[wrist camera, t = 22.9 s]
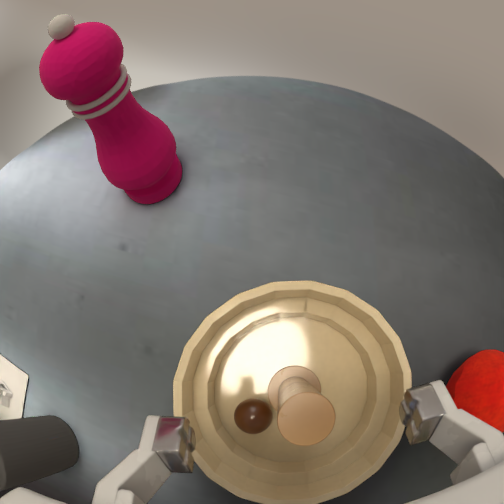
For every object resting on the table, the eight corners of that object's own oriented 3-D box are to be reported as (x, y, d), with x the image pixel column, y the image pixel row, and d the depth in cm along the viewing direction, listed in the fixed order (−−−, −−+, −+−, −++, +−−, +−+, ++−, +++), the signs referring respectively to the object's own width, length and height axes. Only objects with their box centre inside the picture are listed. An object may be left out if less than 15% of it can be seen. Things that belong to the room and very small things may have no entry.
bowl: (380, 467, 20) (405, 491, 14) (198, 473, 21) (177, 500, 16) (379, 293, 25) (404, 275, 19) (197, 300, 26) (175, 283, 21)
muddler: (319, 413, 22) (353, 458, 11) (268, 415, 22) (257, 464, 11) (319, 364, 23) (354, 369, 12) (267, 366, 23) (256, 374, 12)
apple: (545, 427, 13) (490, 435, 19) (539, 334, 17) (487, 357, 23) (482, 454, 13) (426, 452, 19) (478, 340, 17) (425, 364, 23)
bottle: (85, 471, 21) (-26, 512, 7) (44, 463, 22) (-62, 487, 7) (73, 416, 23) (-51, 430, 9) (33, 412, 24) (-81, 415, 9)
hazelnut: (247, 425, 23) (262, 445, 20) (221, 413, 22) (234, 433, 19) (269, 400, 23) (286, 418, 20) (244, 386, 22) (259, 404, 19)
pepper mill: (198, 154, 31) (131, -22, 12) (170, 216, 29) (54, 44, 10) (140, 145, 32) (57, -1, 14) (111, 201, 30) (-10, 64, 11)
